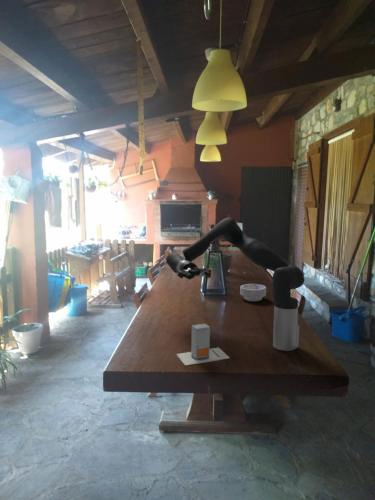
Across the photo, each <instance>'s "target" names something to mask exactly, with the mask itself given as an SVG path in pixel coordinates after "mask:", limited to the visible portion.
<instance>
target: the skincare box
mask: <svg viewBox="0 0 375 500" xmlns="http://www.w3.org/2000/svg"><path fill="white" fill-rule="evenodd" d="M210 335H211V326H209V324H207V323H200V324H199V323H198V324H192V325H191V340H190V341H191V346H190V347H191V351H190V352H191V355H192V356H193V357H194V358H195V359H197V358H203V357H209V350H210V349H211V348H210V344H211V343H210V341H211V338H210V337H211V336H210Z"/></svg>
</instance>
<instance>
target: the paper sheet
mask: <svg viewBox="0 0 375 500" xmlns="http://www.w3.org/2000/svg"><path fill="white" fill-rule="evenodd" d="M175 355H176V356H177V358H179V360H180V361H181V362H182V364H183V365H184V366H185V367H186V366H192V365H198V364H203V363H204V364H205V363H210V362H216V361H222V360H228V359H230V356H228V355H227V354H226V353H225V352H224V351H223V350H222V349H221V348H220V347H212V348H210V350H209V357H203V358H197V359H195V358H194V357H193V356H192V355H191V351H187V352H182V353H181V352H180V353H176V354H175Z"/></svg>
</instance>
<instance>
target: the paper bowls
mask: <svg viewBox="0 0 375 500" xmlns="http://www.w3.org/2000/svg"><path fill="white" fill-rule="evenodd" d="M239 293H240V295H241V296H242V297H243V299H244V300H245V301H247V302H259V301H262V300H263V297H266V296H267V286H265V285H263V284H259V283H247V284H242V285H240V290H239Z"/></svg>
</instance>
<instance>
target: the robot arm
mask: <svg viewBox="0 0 375 500" xmlns="http://www.w3.org/2000/svg"><path fill="white" fill-rule="evenodd" d="M221 236H222V238H223V239H224V240H225V241H227V243H229V244H231V245H233V246H235V247H236V248H237V249H239V251H240V252H241V253H242V254H243V255H244V256H245V257H246V258H247V259H248V260H250V261H251V262H252V263H253V264H255V265H257V266H259V267H260V268H264V269H265V270H266V269H267V270H269V271H272V272H273V274H272V298H273V301H274V302H273V303H274V307H273V310H274V311H273V335H272V338H273V339H272V346H273V348H274V349H276V350H278V351H279V350H280V351H285V352H291V351H295V350H297V349H298V348H299V342H300V341H299V339H300V325H299V324H298V314H299V312H298V311H299V300H298V299H297V298H295V297H293V296H292V295H291V290H295V289H298V288H301V287H302V286H303V285H304V284H305V275H304V273H303V271H302V270H301V269H300V268H299V267H298V266H297V265H295V264H294V263H292V262H290V261H288V260H287V259H284V258H283V257H281V256H280V255H279V254H277V252H275V251H273V250H272V249H271V248H269V247H268V246H267V245H266V244H264V242H261V241H260V240H258V239H256V238H252V237H249V236H248V235H247V234H246V233H245V232H244V231H243V230H242V229H241V227H240V226H239V224H238V223H237V222H236V221H235V219H234V218H233V217H225V218H224V219H222V220H220V221H219V222H218V223H217V224H215V225H214V226H213V227H212V228H211V229H210V230H209V231H208V232H207V233H205V234H204V235H203V236H202V237H200V238H199V239H198V240H197V241H195V242H193V243H192V244H191V245H188V246H187V247H186V248H184V249H183V251H182V253H183V257H184V258H185V259H184V258H183V257H182V256H181V255H180V254H179V253H177V252H171V253H169V254H168V255H167V256H166V258H165V261H166V264H167V266H169V268H170V269H171V271H173V273H174V274H176V276H177V277H179V279H183V278H184V279H187V280H192V279H194V278H196V277H200V278H202V277H206V278H208V279H211V278H212V277H211V276H212V269H210V268H208V267H207V268H206V267H203V268H201V267H200V268H199V267H198V265H197V264H195V263H194V262H193V261H195V260H196V259H198V258H199V257H201V256H203V255H204V254H205V253H206V251H208V249H209V247H210V246H211V244H212V243H213V241H214V240H216V239H217V238H218V237H221Z"/></svg>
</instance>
